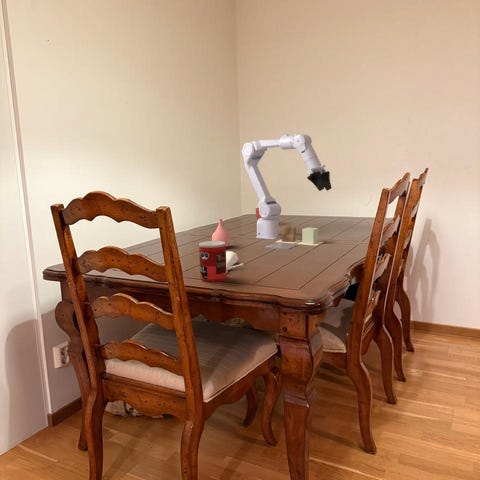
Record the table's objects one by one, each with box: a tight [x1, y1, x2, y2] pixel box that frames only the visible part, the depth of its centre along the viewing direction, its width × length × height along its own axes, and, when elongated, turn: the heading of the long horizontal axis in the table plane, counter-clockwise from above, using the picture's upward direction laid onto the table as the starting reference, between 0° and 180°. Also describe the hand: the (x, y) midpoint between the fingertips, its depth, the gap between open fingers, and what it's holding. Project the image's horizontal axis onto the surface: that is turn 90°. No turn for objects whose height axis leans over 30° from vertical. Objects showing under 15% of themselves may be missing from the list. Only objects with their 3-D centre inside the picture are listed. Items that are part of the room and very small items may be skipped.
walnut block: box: [281, 225, 297, 243], centre depth 189 cm, size 5×5×6 cm
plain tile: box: [275, 239, 302, 244], centre depth 189 cm, size 9×9×1 cm
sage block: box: [301, 226, 319, 244], centre depth 183 cm, size 5×5×6 cm
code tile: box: [295, 240, 324, 246], centre depth 184 cm, size 9×9×1 cm
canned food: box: [198, 240, 228, 283], centre depth 131 cm, size 8×8×11 cm
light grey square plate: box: [265, 242, 299, 251], centre depth 178 cm, size 10×10×1 cm
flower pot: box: [255, 207, 262, 222], centre depth 234 cm, size 11×11×10 cm
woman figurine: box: [226, 250, 245, 274], centre depth 146 cm, size 12×4×18 cm
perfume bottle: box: [211, 218, 231, 247], centre depth 177 cm, size 8×8×12 cm
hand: (325, 189), depth 179 cm, fingers open, 7 cm apart
